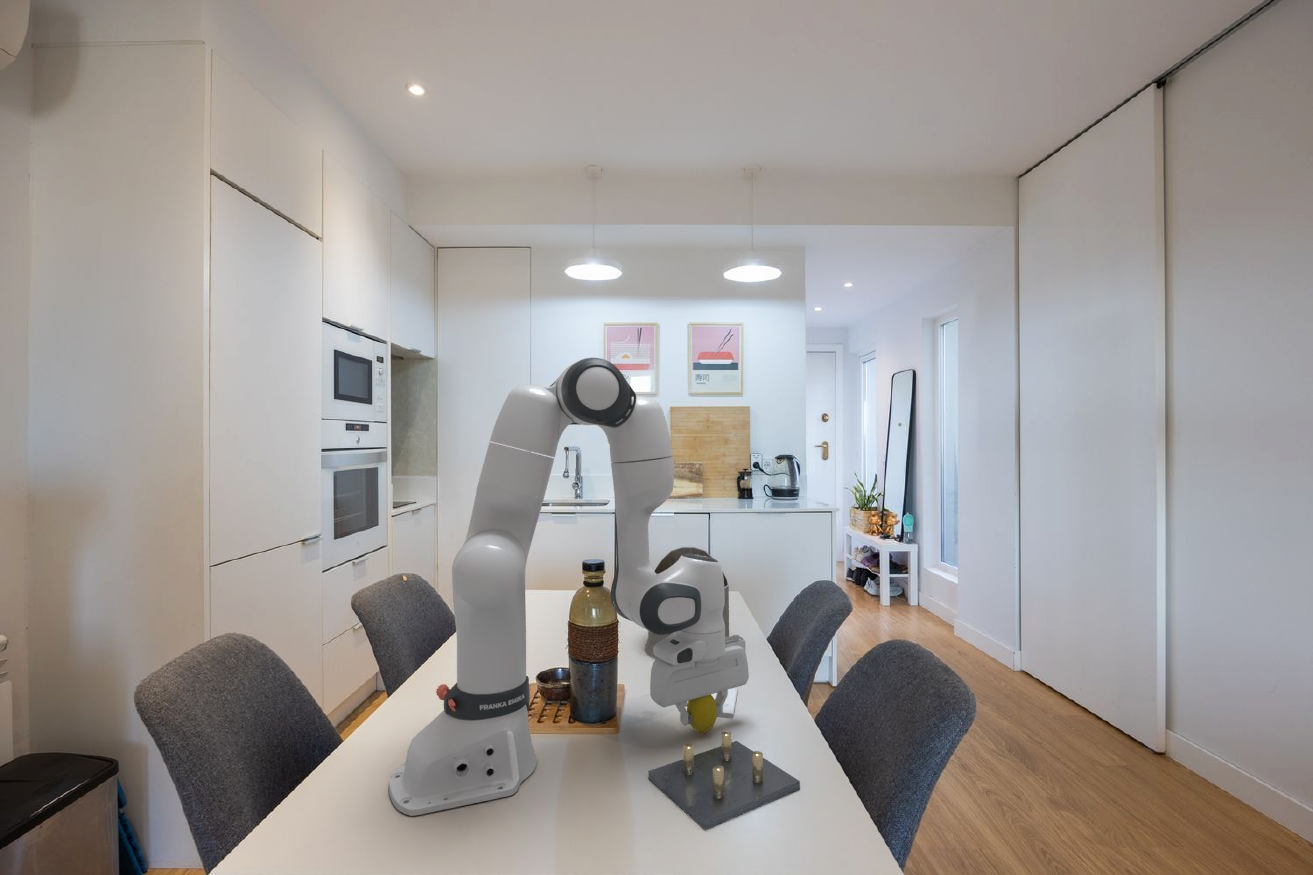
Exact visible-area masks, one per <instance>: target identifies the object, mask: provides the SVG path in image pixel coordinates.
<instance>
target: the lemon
mask: <svg viewBox="0 0 1313 875" xmlns="http://www.w3.org/2000/svg"><path fill="white" fill-rule="evenodd" d="M686 711H688V712H689V713H691V714H692V723H691V724H689V725H690V726H691V728H692V729H694V730H695V731H698V733H700V735H701V734H702V735H703V734H705V733H706V732H707V731H709V730H711V729H712V728H713V727H714V725H715V724H716V720H717V718H718V717H717V707H716V703H715V700H714V698H713V696H712V695H711V694H710V695H707V696H703V697H700V698H696V699H692V700H689V701H687V706H686Z"/></svg>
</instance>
